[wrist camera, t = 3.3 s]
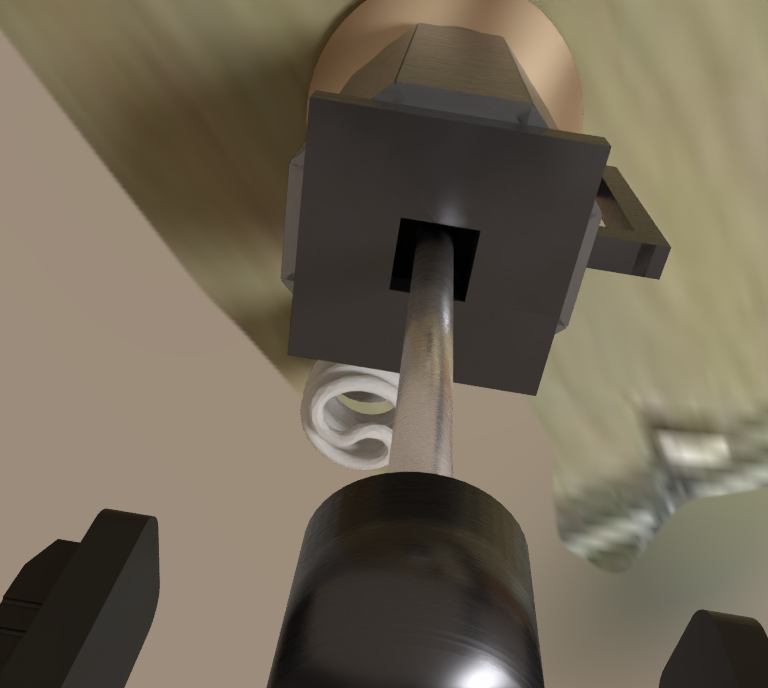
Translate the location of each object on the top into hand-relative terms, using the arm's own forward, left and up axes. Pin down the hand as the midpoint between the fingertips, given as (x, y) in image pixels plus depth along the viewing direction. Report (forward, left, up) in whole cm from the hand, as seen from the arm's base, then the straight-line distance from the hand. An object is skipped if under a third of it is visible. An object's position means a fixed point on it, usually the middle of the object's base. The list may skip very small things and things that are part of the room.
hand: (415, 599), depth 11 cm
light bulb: (+2, +12, -31) cm, 33 cm away
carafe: (-1, 0, -30) cm, 30 cm away
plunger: (0, 0, -18) cm, 18 cm away
